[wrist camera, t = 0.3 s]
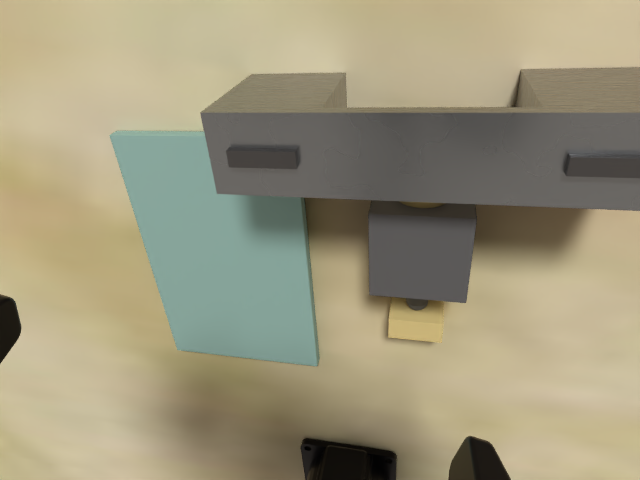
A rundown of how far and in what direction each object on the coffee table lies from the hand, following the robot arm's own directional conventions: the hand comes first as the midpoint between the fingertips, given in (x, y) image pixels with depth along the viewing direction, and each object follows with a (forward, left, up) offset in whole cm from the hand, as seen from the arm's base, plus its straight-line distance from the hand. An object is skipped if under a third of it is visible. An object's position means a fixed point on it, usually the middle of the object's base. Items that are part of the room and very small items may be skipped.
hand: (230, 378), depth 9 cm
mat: (-7, +7, -14) cm, 17 cm away
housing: (+1, -3, -14) cm, 14 cm away
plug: (-6, -3, -14) cm, 15 cm away
